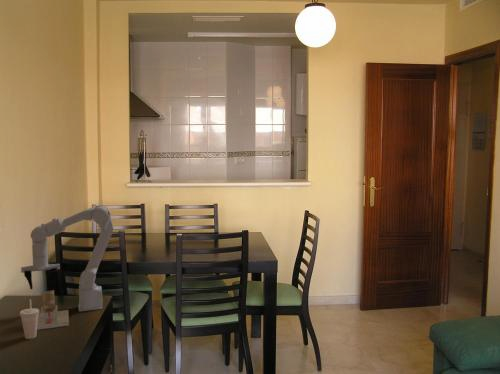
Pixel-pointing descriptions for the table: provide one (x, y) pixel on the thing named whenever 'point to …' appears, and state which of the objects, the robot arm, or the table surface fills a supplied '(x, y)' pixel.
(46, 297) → the post
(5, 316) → the table surface
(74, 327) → the table surface
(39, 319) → the jack base
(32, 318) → the smoothie
